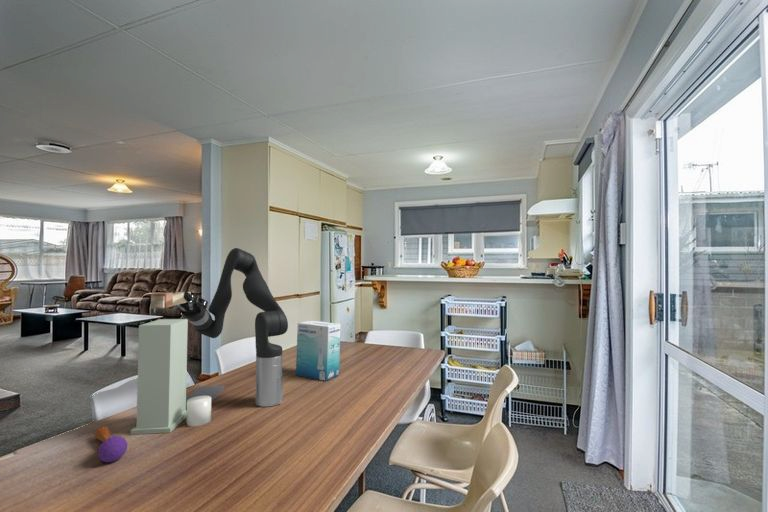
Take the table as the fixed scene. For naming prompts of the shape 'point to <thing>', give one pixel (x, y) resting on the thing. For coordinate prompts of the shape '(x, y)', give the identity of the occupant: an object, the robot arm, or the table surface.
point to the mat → (206, 392)
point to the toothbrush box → (318, 350)
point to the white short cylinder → (198, 410)
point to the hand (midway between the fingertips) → (178, 294)
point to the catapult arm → (167, 299)
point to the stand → (161, 376)
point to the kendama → (110, 445)
